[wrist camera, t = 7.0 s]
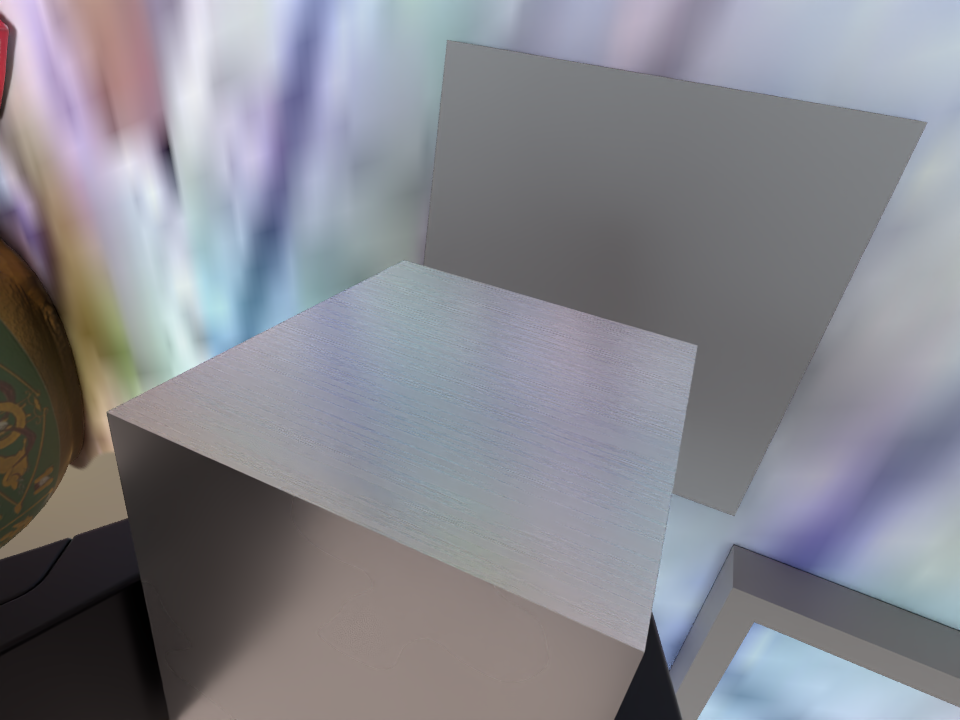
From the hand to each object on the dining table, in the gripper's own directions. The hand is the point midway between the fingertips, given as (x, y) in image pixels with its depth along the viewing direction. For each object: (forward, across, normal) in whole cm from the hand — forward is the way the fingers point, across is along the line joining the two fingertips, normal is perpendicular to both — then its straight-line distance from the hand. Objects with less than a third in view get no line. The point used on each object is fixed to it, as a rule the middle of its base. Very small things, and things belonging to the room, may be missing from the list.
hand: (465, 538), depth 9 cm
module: (+2, 0, 0) cm, 2 cm away
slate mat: (+11, 0, 0) cm, 11 cm away
